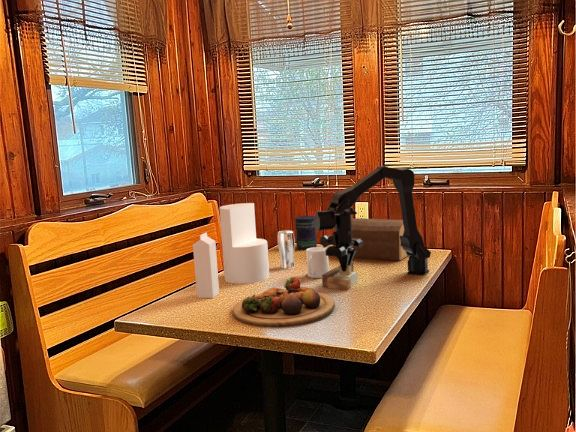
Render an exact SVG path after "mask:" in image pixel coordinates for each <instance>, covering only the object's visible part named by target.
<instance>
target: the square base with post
mask: <svg viewBox="0 0 576 432" xmlns="http://www.w3.org/2000/svg"><path fill="white" fill-rule="evenodd" d="M338 266H339V273H338V274H336V275H334V277H339V278H349V279H350V281H351V286H353V285H354V284H356V283H358V272H357V271H354V272H352V270H351V266H349V265H347V269H346V271H345V272H344V271H342V268H341V265H340V264H339V265H338Z"/></svg>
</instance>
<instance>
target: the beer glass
mask: <svg viewBox="0 0 576 432" xmlns="http://www.w3.org/2000/svg"><path fill="white" fill-rule="evenodd" d="M295 245H296V238H295V233H294V230H289V229H285V230H280V231H277V246H278V247H277V248H278V251H279V257H280V269H281V270H293V269H295V268H296V265H295V261H294V259H295V258H294V256H295V255H294V254H295V248H296V246H295Z"/></svg>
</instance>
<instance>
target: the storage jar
mask: <svg viewBox="0 0 576 432" xmlns="http://www.w3.org/2000/svg"><path fill="white" fill-rule="evenodd" d="M314 217H315V215H299V216H295V217H294V221H295V225H294V226H295V234H296V238H295V245H296V250H297V249H299V250H298V251H304V250H306V249H308V248H313V247H318V246H317V244H318V240H317V230H316V229H315V227H314Z"/></svg>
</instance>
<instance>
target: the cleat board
mask: <svg viewBox="0 0 576 432" xmlns="http://www.w3.org/2000/svg"><path fill="white" fill-rule="evenodd" d="M339 266H340V265H338V266H336V267H334V268H332V269H331V270H330V269H329V271H328V272H326V273H325V274H323V275H322V278H321V283H322V284H321V285H322V288H327V289H336V290H347V291H349V290H351V287H352V285H351V281H350V279H349V278H339V277H334V275H336V274H338V273H339ZM350 266H351V270H352V272H355V271H354V261H353V260H352V262H351V265H350Z"/></svg>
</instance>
